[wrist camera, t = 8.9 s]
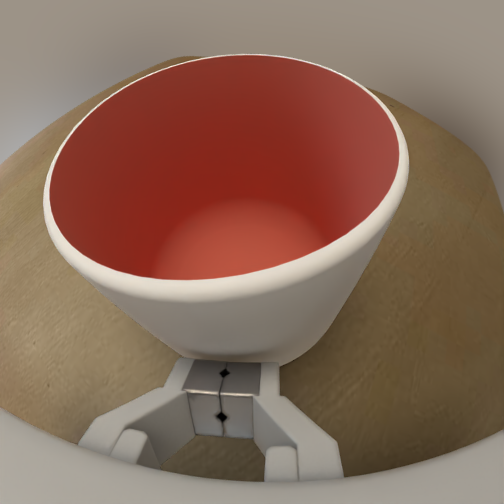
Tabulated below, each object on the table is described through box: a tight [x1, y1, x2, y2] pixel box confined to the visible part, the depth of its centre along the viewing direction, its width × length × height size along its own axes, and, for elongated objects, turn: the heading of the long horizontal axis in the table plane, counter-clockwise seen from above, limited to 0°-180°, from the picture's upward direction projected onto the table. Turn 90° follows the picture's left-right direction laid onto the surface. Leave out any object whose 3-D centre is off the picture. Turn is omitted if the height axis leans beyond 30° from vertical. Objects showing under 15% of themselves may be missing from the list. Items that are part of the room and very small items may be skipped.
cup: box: [43, 54, 409, 366], centre depth 11 cm, size 10×10×10 cm
